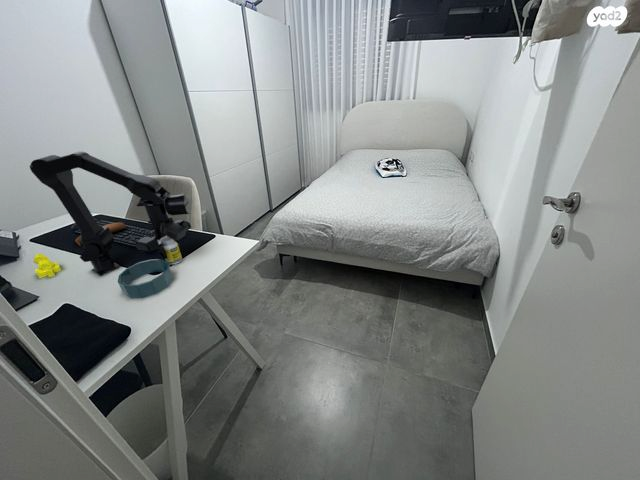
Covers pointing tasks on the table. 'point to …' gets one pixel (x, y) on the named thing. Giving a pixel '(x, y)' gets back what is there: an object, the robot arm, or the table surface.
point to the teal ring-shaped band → (146, 287)
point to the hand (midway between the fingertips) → (172, 254)
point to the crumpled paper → (45, 266)
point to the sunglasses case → (112, 227)
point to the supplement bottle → (171, 250)
